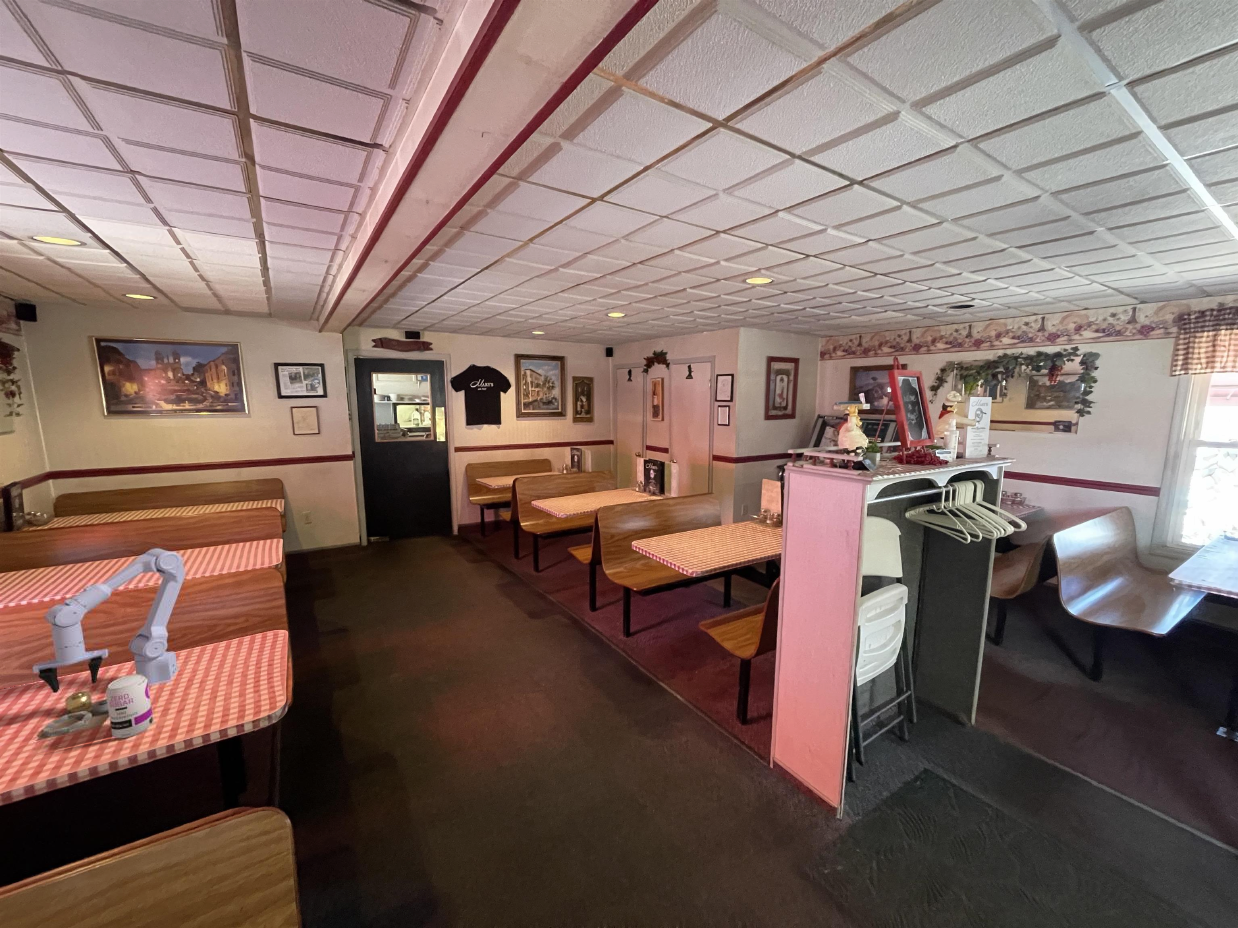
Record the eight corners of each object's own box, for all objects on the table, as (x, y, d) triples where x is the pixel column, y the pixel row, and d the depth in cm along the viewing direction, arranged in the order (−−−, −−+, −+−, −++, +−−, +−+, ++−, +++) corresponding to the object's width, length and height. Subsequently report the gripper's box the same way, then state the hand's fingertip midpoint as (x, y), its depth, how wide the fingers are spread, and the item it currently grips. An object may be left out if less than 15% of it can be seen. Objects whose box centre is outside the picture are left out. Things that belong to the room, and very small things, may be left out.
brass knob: (96, 702, 145) (93, 686, 144) (87, 711, 141) (84, 695, 140) (73, 707, 143) (70, 691, 142) (63, 716, 138) (60, 700, 138)
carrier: (127, 696, 149) (126, 686, 148) (101, 727, 135) (99, 716, 134) (69, 708, 143) (67, 697, 142) (35, 742, 129) (33, 730, 128)
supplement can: (151, 716, 140) (144, 669, 138) (155, 728, 135) (148, 679, 133) (111, 730, 134) (103, 682, 132) (114, 744, 128) (106, 693, 126)
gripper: (108, 631, 146) (114, 671, 148) (36, 645, 138) (43, 688, 140) (102, 640, 141) (108, 682, 143) (27, 656, 132) (34, 700, 134)
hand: (75, 686), depth 141 cm, fingers open, 7 cm apart
